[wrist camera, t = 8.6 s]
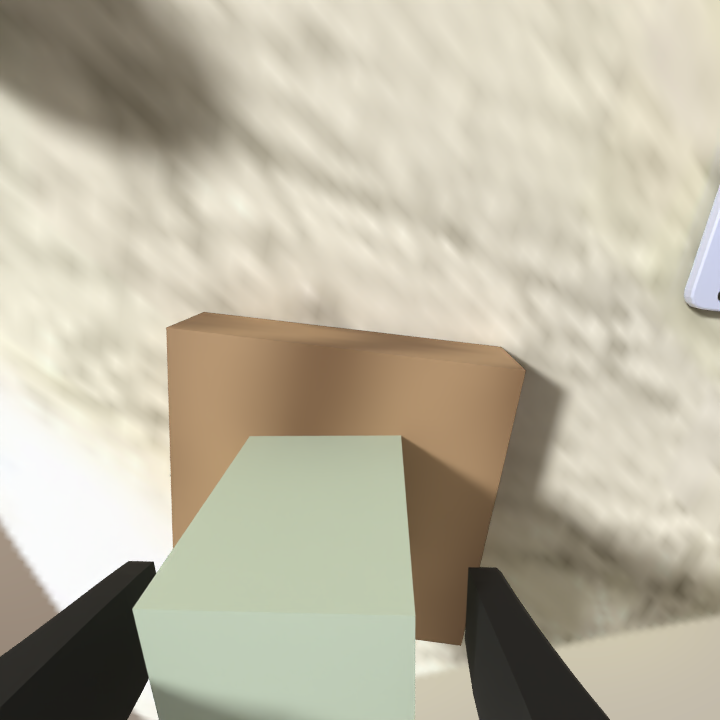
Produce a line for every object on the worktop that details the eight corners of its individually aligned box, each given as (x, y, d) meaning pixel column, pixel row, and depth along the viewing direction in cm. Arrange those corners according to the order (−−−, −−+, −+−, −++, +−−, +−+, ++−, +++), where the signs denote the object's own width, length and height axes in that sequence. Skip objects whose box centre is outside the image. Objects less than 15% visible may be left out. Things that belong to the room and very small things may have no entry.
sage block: (400, 435, 12) (414, 615, 6) (401, 562, 13) (414, 807, 8) (249, 435, 12) (131, 608, 7) (264, 559, 14) (177, 794, 8)
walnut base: (501, 346, 14) (525, 370, 11) (450, 586, 17) (460, 645, 14) (204, 311, 14) (166, 327, 12) (204, 553, 17) (174, 606, 14)
